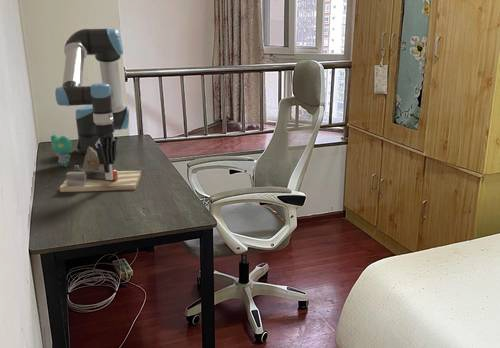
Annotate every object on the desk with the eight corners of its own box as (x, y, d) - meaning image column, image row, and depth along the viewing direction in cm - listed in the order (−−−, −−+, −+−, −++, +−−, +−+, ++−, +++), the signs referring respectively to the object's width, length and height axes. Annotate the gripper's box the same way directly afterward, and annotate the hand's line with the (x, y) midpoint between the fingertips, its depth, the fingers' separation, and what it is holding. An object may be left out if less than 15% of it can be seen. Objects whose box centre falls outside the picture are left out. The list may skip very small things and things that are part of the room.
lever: (83, 175, 213) (82, 165, 212) (119, 179, 208) (118, 169, 207) (78, 177, 210) (77, 168, 208) (114, 181, 205) (113, 172, 203)
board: (72, 177, 218) (70, 161, 216) (141, 174, 220) (140, 159, 218) (60, 192, 200) (57, 175, 198) (135, 189, 202) (134, 173, 200)
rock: (113, 158, 223) (98, 156, 217) (106, 179, 225) (90, 177, 219) (98, 146, 232) (83, 144, 225) (91, 166, 234) (76, 164, 228)
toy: (50, 166, 232) (46, 135, 228) (63, 162, 239) (60, 132, 235) (64, 169, 228) (60, 137, 224) (77, 164, 235) (74, 134, 231)
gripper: (101, 127, 190) (107, 185, 197) (121, 120, 201) (126, 175, 209) (85, 125, 192) (92, 183, 200) (105, 119, 204) (111, 173, 211)
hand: (109, 179), depth 204 cm, fingers closed
